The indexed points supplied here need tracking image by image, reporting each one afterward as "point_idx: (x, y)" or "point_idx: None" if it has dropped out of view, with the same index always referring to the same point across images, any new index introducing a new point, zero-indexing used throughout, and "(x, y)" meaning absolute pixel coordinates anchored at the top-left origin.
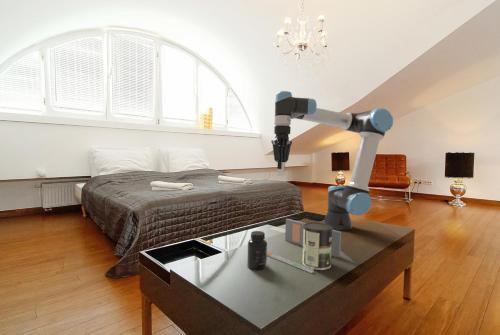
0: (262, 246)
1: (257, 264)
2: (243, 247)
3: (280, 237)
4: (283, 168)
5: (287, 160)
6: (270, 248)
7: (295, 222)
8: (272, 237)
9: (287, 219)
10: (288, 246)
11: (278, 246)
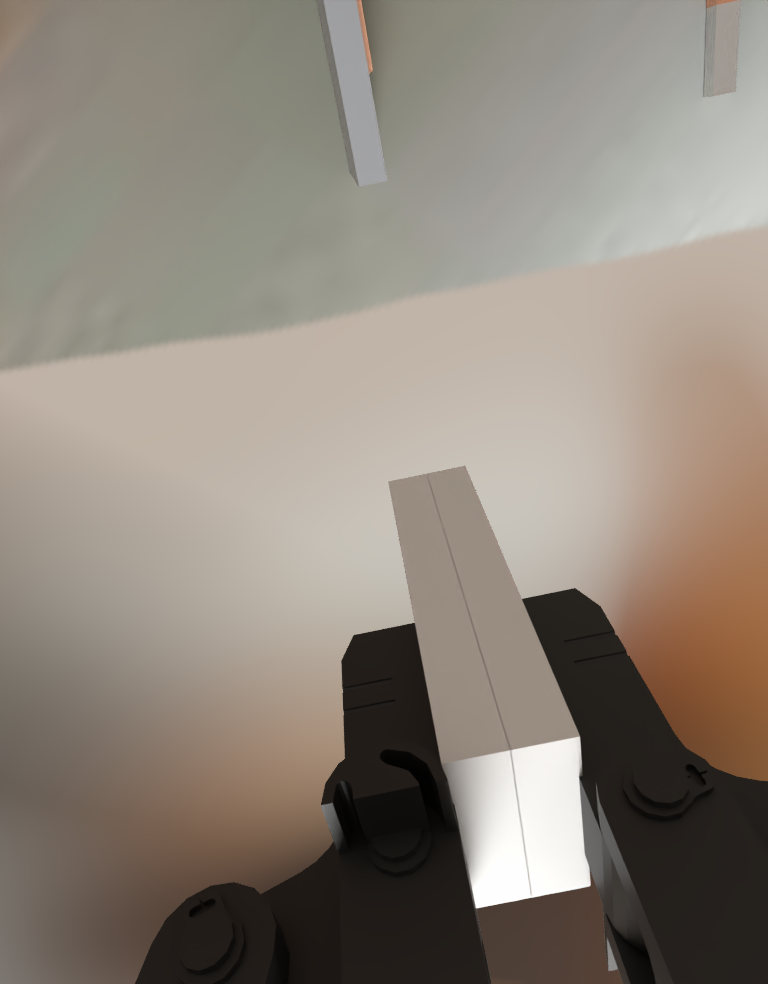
0: None
1: None
2: (735, 211)
3: (353, 255)
4: (456, 588)
5: (215, 893)
6: (598, 78)
7: (361, 29)
8: (410, 288)
9: (381, 158)
10: (445, 29)
11: (515, 79)
